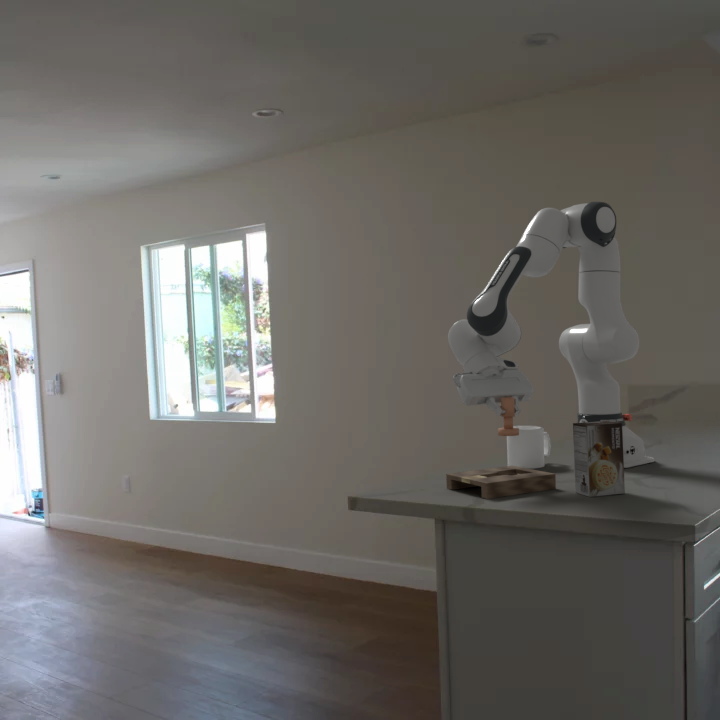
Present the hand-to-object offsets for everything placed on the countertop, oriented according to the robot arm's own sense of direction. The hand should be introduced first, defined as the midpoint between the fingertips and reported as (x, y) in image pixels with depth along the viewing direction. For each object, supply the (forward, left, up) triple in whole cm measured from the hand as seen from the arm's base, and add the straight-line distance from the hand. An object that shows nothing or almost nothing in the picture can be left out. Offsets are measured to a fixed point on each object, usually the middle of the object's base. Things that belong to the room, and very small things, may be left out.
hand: (509, 413), depth 193 cm
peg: (0, -1, -5) cm, 5 cm away
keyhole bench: (+4, +1, -18) cm, 18 cm away
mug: (-24, -22, -18) cm, 37 cm away
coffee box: (-10, +19, -18) cm, 28 cm away
